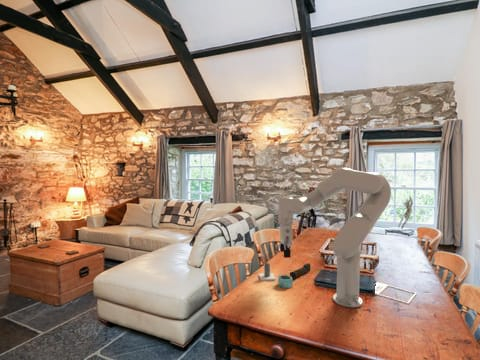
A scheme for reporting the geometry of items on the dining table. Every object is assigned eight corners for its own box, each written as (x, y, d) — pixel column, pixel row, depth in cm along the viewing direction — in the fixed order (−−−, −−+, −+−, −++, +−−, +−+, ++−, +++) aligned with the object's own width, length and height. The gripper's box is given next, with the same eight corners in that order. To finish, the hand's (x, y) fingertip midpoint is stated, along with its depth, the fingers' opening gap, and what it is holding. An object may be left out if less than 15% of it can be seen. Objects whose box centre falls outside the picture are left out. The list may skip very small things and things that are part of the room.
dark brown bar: (295, 280, 153) (295, 272, 153) (289, 278, 156) (289, 270, 156) (314, 271, 166) (314, 263, 166) (308, 269, 169) (308, 262, 169)
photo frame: (377, 281, 149) (416, 292, 137) (377, 283, 150) (416, 294, 137) (367, 290, 139) (408, 302, 126) (366, 292, 139) (408, 305, 127)
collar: (293, 288, 143) (293, 280, 143) (279, 288, 143) (279, 280, 143) (290, 282, 150) (290, 274, 150) (277, 282, 150) (277, 275, 150)
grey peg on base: (275, 280, 152) (275, 265, 152) (260, 280, 152) (260, 265, 152) (273, 274, 160) (273, 260, 160) (259, 275, 160) (259, 260, 160)
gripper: (297, 224, 136) (296, 259, 137) (289, 218, 154) (289, 249, 154) (281, 224, 136) (280, 259, 137) (275, 218, 153) (275, 249, 154)
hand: (285, 254), depth 146 cm, fingers open, 9 cm apart
